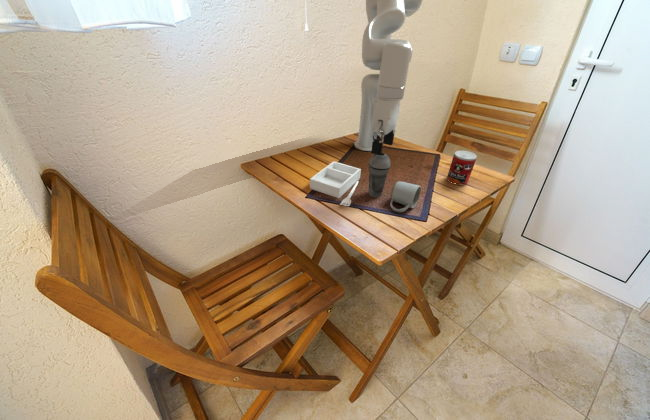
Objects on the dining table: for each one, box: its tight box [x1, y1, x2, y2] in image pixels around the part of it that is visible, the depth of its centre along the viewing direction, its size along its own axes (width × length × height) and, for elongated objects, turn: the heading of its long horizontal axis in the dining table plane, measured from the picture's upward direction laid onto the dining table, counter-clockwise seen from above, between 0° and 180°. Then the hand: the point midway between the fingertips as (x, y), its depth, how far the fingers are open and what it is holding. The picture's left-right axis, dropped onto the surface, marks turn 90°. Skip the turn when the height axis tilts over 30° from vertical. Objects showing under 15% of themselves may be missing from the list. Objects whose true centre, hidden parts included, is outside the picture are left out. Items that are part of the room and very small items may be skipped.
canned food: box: [446, 150, 478, 185], centre depth 108 cm, size 8×8×11 cm
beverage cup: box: [368, 152, 391, 199], centre depth 96 cm, size 7×7×20 cm
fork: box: [339, 180, 360, 207], centre depth 101 cm, size 3×20×2 cm, turn 160°
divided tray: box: [309, 161, 362, 199], centre depth 106 cm, size 17×12×4 cm
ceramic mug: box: [389, 180, 422, 213], centre depth 94 cm, size 11×8×8 cm
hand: (382, 149), depth 91 cm, fingers open, 9 cm apart
